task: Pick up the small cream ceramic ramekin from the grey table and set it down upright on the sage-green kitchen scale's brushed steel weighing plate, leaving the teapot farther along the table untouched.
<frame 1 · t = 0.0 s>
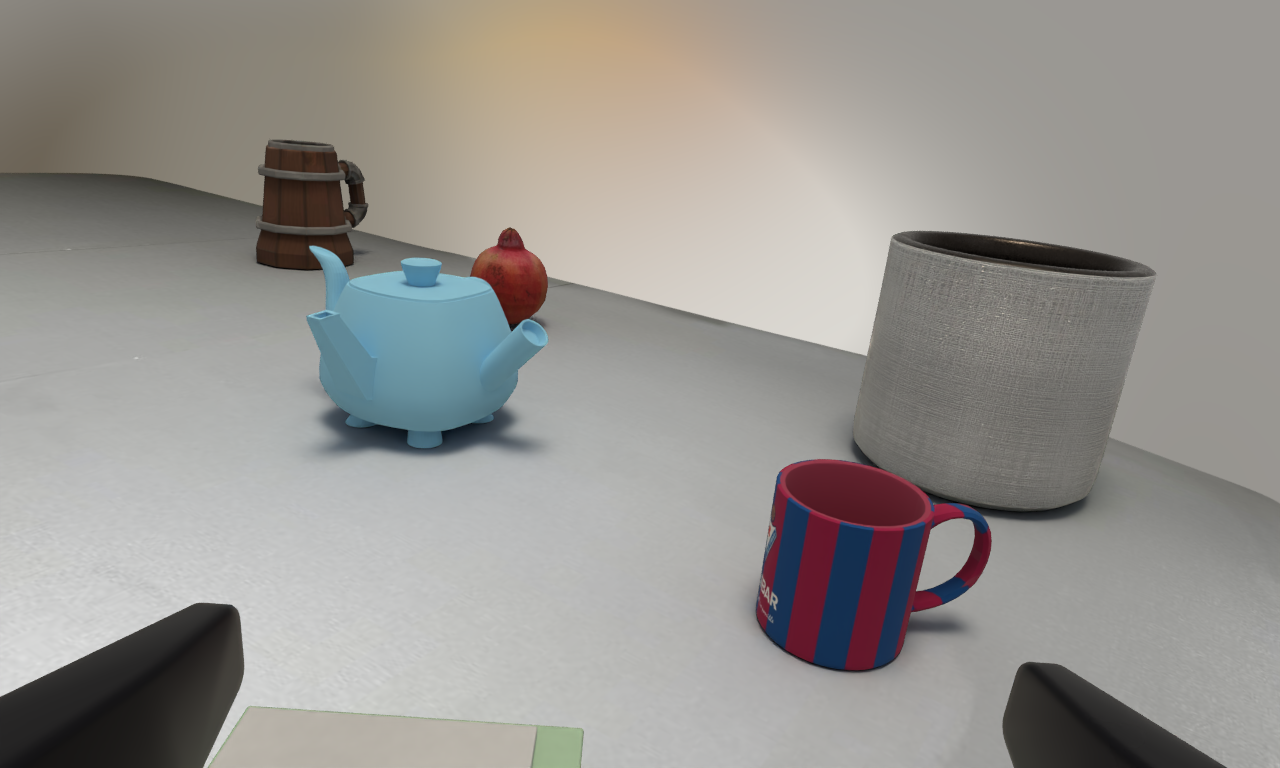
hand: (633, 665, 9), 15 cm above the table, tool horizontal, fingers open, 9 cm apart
fruit: (507, 326, 80), on the table
cup: (862, 630, 36), on the table
teapot: (415, 424, 54), on the table
planter: (962, 468, 55), on the table
mug: (319, 261, 103), on the table
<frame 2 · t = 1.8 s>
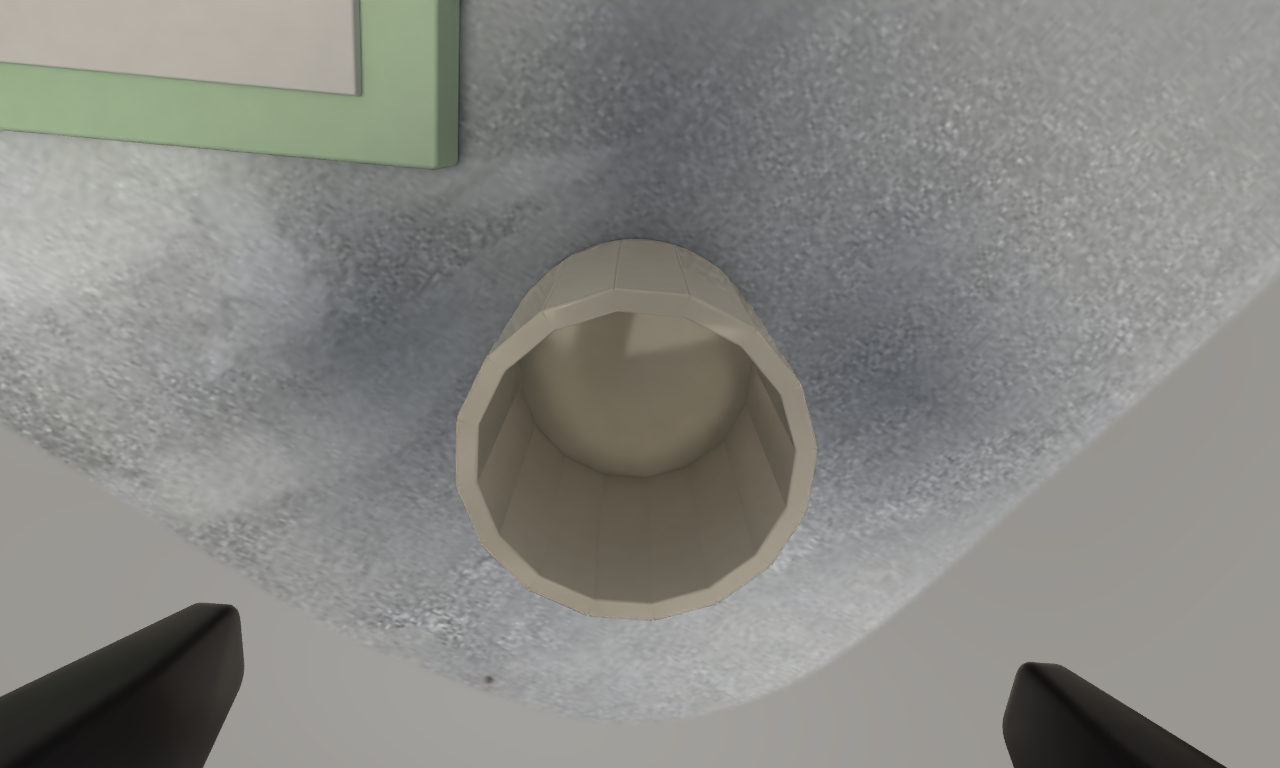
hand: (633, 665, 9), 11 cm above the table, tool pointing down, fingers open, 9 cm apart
ramekin: (635, 366, 19), on the table
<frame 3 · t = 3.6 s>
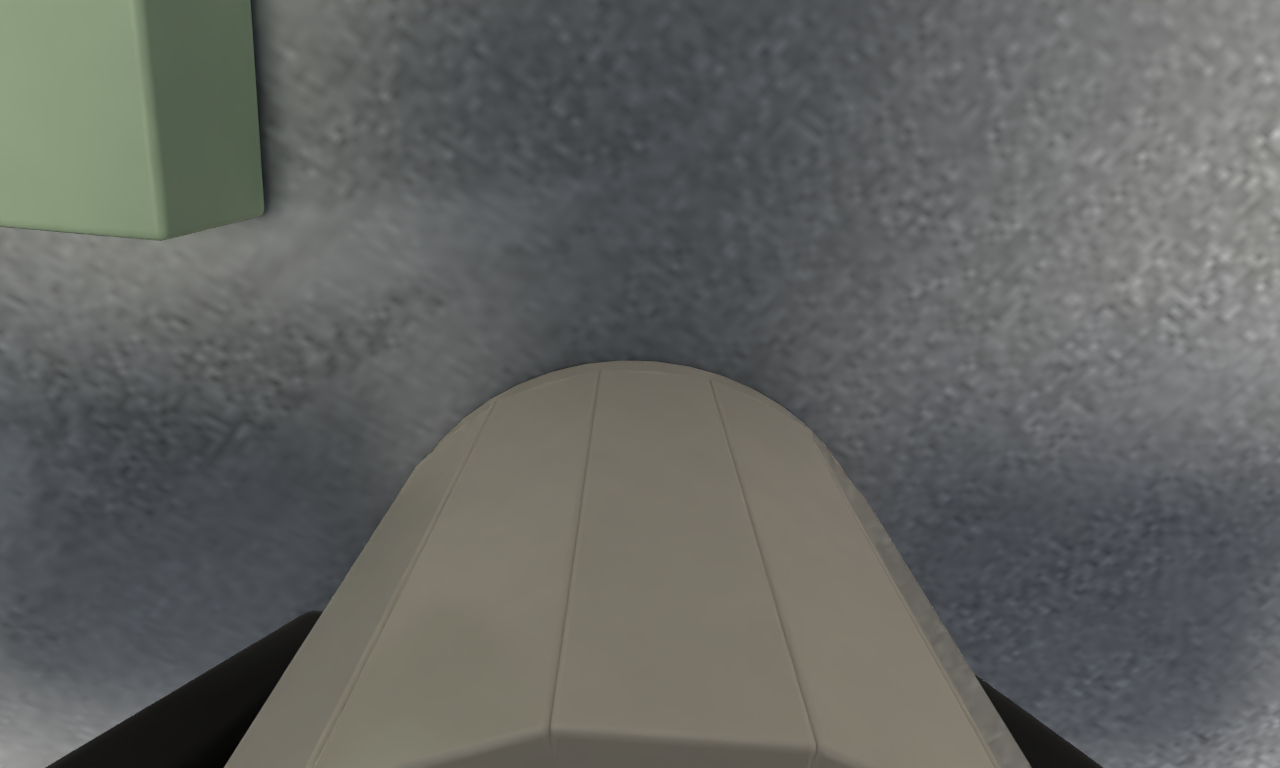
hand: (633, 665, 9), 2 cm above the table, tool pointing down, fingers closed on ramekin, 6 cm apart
ramekin: (631, 587, 10), on the table, touching gripper
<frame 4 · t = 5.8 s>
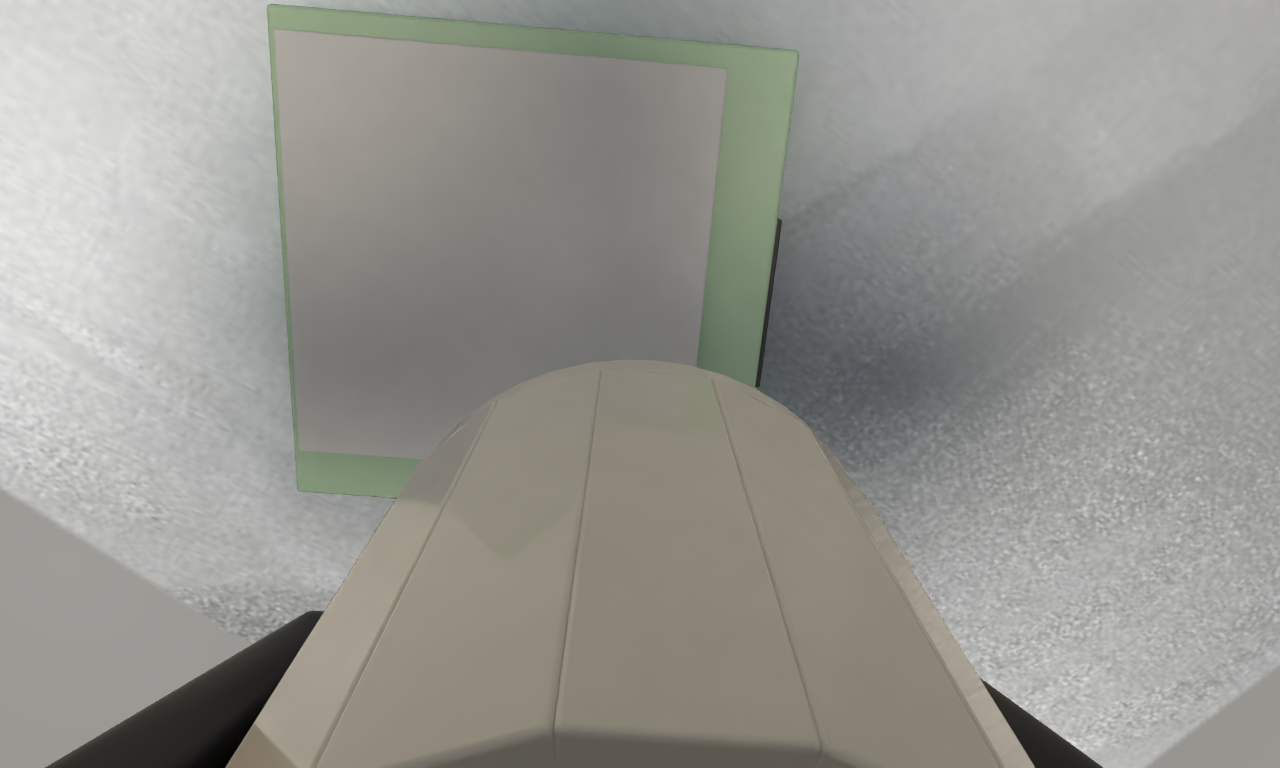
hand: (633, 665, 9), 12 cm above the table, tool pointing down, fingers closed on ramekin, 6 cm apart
scale: (537, 275, 19), on the table
ramekin: (632, 587, 10), point 10 cm above the table, touching gripper
when the fingers open (4 cm above the table, at t = 8.4 s): ramekin stays where it is, resting on scale.
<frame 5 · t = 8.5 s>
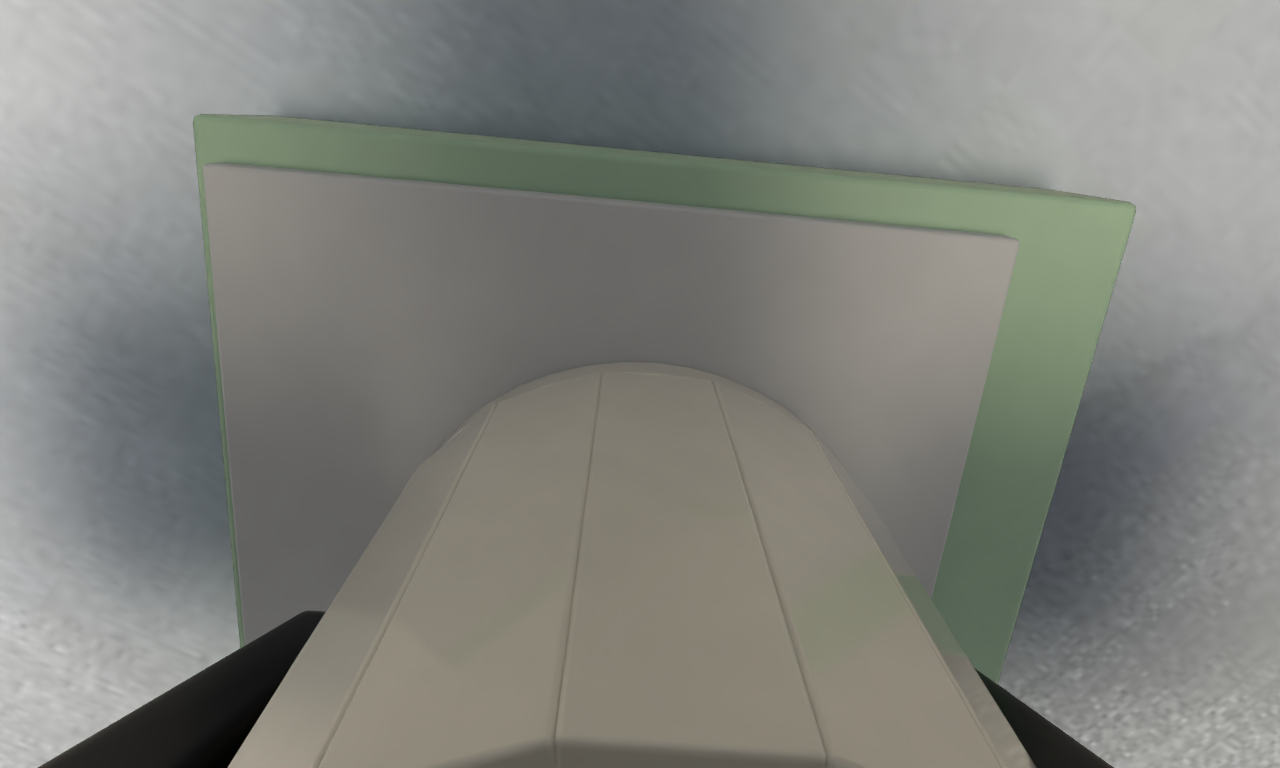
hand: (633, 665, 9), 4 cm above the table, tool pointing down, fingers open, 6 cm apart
scale: (633, 505, 12), on the table
ramekin: (633, 591, 10), point 2 cm above the table, touching scale
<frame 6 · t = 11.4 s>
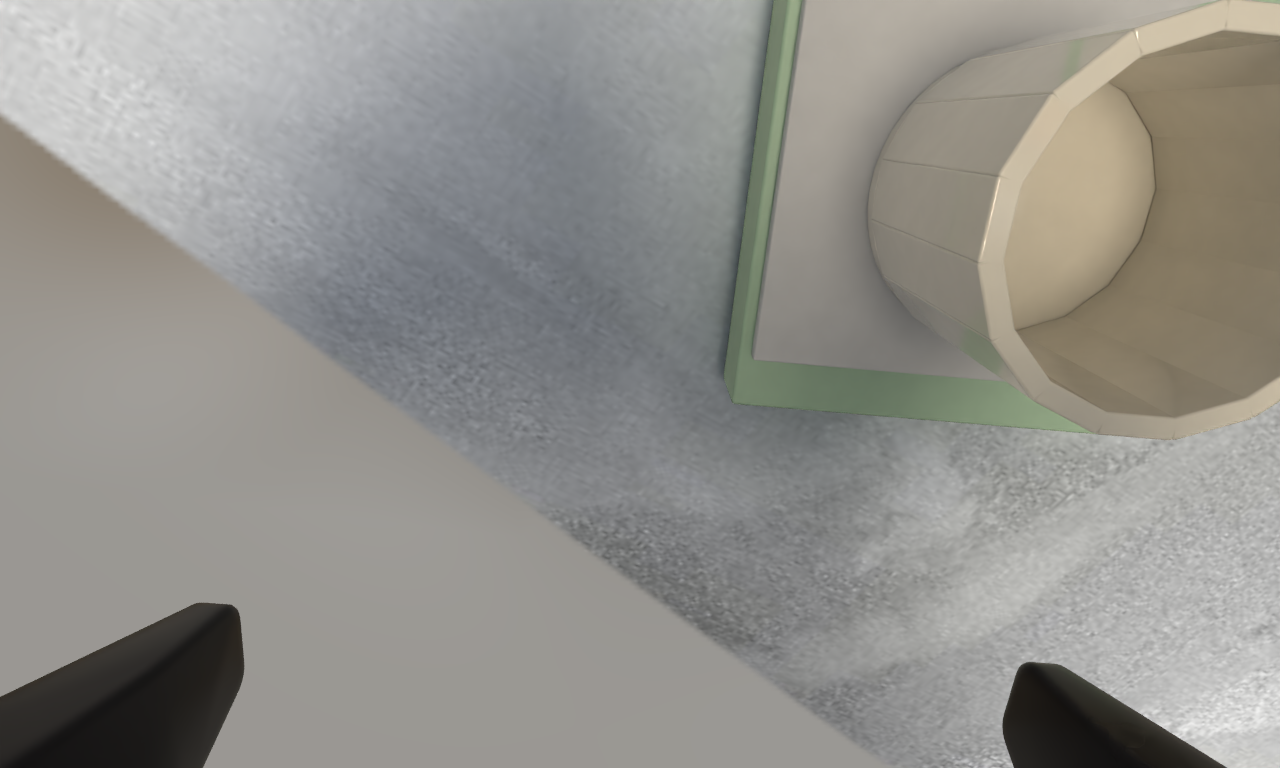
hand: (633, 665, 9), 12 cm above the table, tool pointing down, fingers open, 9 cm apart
scale: (966, 191, 19), on the table
ramekin: (1010, 201, 17), point 2 cm above the table, touching scale
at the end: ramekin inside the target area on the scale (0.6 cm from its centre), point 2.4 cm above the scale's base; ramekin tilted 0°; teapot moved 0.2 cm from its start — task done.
